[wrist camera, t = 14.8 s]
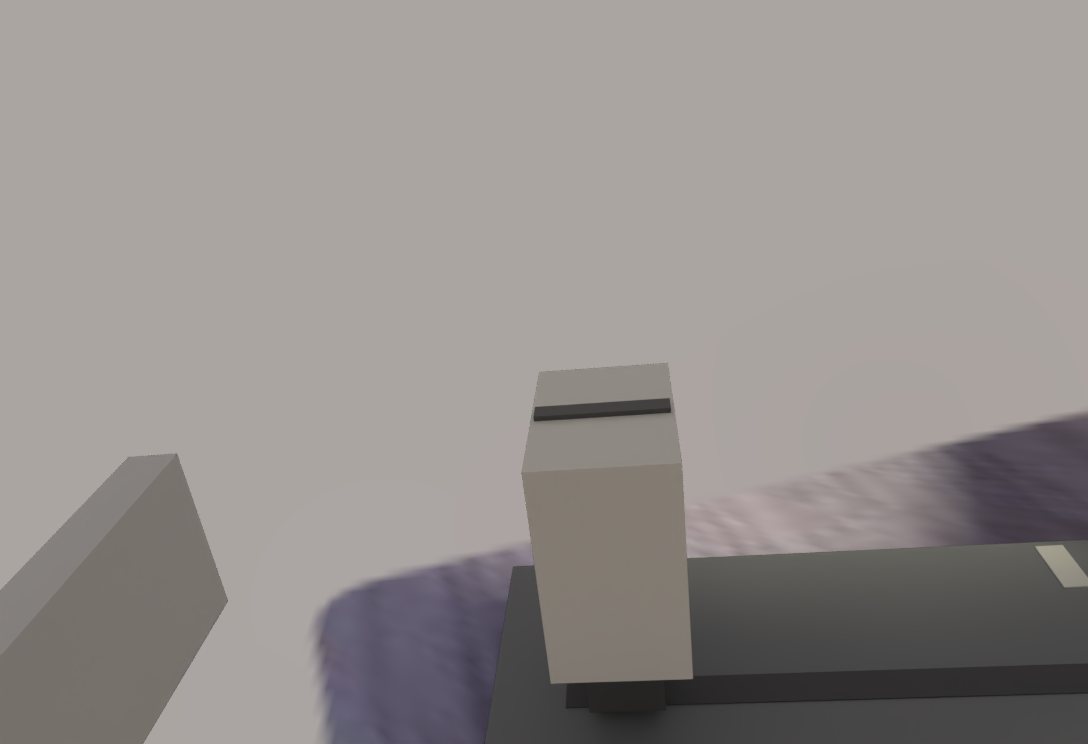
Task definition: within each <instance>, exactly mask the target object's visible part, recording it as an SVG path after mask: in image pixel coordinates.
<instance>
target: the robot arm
mask: <svg viewBox="0 0 1088 744" xmlns="http://www.w3.org/2000/svg"><path fill="white" fill-rule="evenodd" d="M227 602H228V600H227V597H226V594H225V591H224V588H223V585H222V582H221V579H220V576H219V574H218V571H217V568H216V565H215V562H214V559H213V556H212V553H211V550H210V548H209V545H208V542H207V539H206V536H205V533H204V530H203V527H202V525H201V522H200V519H199V516H198V513H197V510H196V507H195V504H194V501H193V498H192V496H191V493H190V490H189V487H188V484H187V481H186V478H185V475H184V472H183V470H182V467H181V464H180V461H179V458H178V455H177V454H164V455H151V456H136V457H128V458H127V459H126V460H125V461H124V462H123V463H122V464H121V465H120V467H119V468H118V469H117V470H116V471H115V472H114V473H113V474H112V475H111V476H110V477H109V478H108V479H107V480H106V481H105V482H104V483H103V484H102V485H101V486H100V487H99V488H98V489H97V490H96V491H95V493H93V495H92V496H91V497H90V498H89V499H88V500H87V501H86V502H85V503H84V504H83V505H82V506H81V507H80V508H79V509H78V510H77V511H76V512H75V513H74V514H73V515H72V516H71V518H69V519H68V521H67V522H66V523H65V524H64V525H63V526H62V527H61V528H60V529H59V530H58V531H57V532H56V533H55V534H54V535H53V536H52V537H51V538H50V539H49V540H48V541H47V542H46V544H44V546H43V547H42V548H41V549H40V550H39V551H38V552H37V553H36V554H35V555H34V556H33V557H32V558H31V559H30V560H29V561H28V562H27V563H26V564H25V565H24V566H23V568H22V569H21V570H19V572H17V574H16V575H15V576H14V577H13V578H12V579H11V580H10V581H9V582H8V583H7V584H6V585H5V586H4V587H3V588H2V589H1V590H0V744H143V743H144V741H145V740H146V738H147V736H148V735H149V733H150V731H151V729H152V728H153V726H154V724H155V723H156V721H157V719H158V718H159V716H160V714H161V713H162V711H163V709H164V707H165V706H166V704H167V702H168V701H169V699H170V698H171V696H172V694H173V692H174V691H175V689H176V687H177V686H178V684H179V682H180V681H181V679H182V677H183V676H184V674H185V672H186V671H187V669H188V667H189V666H190V664H191V662H192V661H193V659H194V657H195V655H196V654H197V652H198V650H199V649H200V647H201V645H202V644H203V642H204V640H205V639H206V637H207V635H208V634H209V632H210V630H211V629H212V627H213V625H214V624H215V622H216V620H217V619H218V617H219V615H220V614H221V612H222V610H223V609H224V607H225V605H226V604H227Z"/></svg>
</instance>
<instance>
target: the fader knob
mask: <svg viewBox="0 0 1088 744" xmlns="http://www.w3.org/2000/svg"><path fill="white" fill-rule="evenodd" d="M682 473H683V472H682V459H681V452H680V446H679V439H678V431H677V424H676V417H675V410H674V403H673V396H672V389H671V382H670V376H669V368H668V363H659V364H646V365H632V366H618V367H604V368H589V369H575V370H561V371H546V372H539V376H538V381H537V387H536V393H535V398H534V404H533V410H532V416H531V422H530V427H529V433H528V439H527V444H526V450H525V456H524V462H523V467H522V480H523V487H524V494H525V501H526V508H527V515H528V522H529V530H530V537H531V544H532V552H533V559H534V566H535V573H536V580H537V587H538V595H539V602H540V609H541V616H542V623H543V631H544V638H545V645H546V652H547V659H548V667H549V674H550V681H551V684H556V683H586V686H587V695H588V703H589V712H590V713H595V712H631V711H666V702H665V687H664V680H682V679H693V668H692V649H691V629H690V609H689V590H688V570H687V551H686V531H685V512H684V492H683V474H682Z"/></svg>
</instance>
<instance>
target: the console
mask: <svg viewBox="0 0 1088 744" xmlns="http://www.w3.org/2000/svg"><path fill="white" fill-rule="evenodd" d="M687 570H688V590H689V609H690V629H691V649H692V668H693V679H682V680H664V687H665V702H666V711H631V712H595V713H590V712H589V703H588V695H587V686H586V683H556V684H551V681H550V674H549V667H548V659H547V652H546V645H545V638H544V631H543V623H542V616H541V609H540V602H539V595H538V587H537V580H536V573H535V566H514V567H513V570H512V576H511V583H510V589H509V595H508V601H507V607H506V614H505V620H504V626H503V632H502V638H501V644H500V651H499V657H498V663H497V669H496V675H495V681H494V688H493V694H492V700H491V706H490V712H489V718H488V725H487V731H486V737H485V743H484V744H1088V540H1072V541H1051V542H1029V543H1008V544H986V545H965V546H943V547H922V548H900V549H879V550H858V551H836V552H815V553H793V554H772V555H750V556H729V557H707V558H687Z"/></svg>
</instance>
